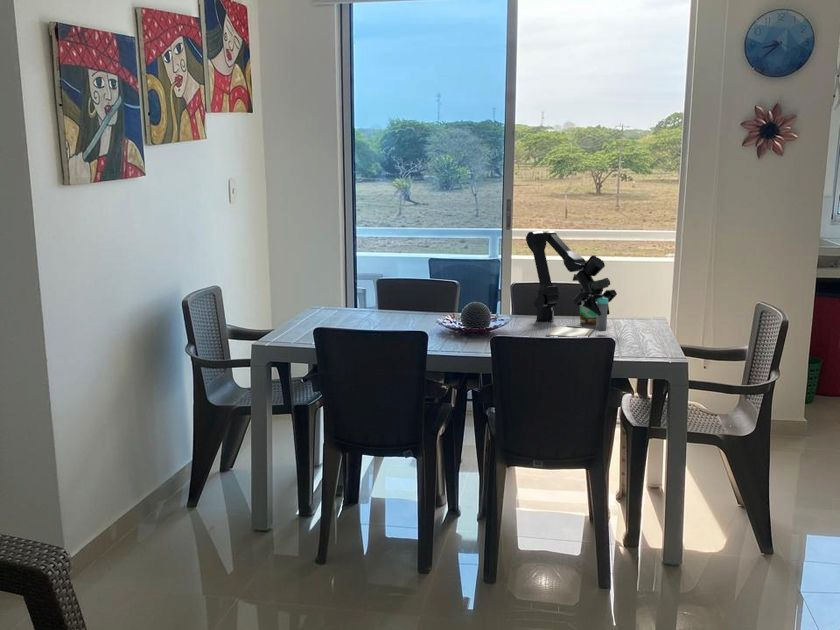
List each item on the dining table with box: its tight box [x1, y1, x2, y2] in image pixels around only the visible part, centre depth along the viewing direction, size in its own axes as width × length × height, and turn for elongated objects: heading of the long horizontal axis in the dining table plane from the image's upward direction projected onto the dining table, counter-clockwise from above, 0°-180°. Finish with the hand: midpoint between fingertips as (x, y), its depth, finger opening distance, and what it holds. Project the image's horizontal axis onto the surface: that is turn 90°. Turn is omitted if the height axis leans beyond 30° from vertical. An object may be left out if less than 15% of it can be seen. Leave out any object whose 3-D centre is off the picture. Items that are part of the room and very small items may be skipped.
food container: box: [579, 301, 597, 326], centre depth 346 cm, size 12×6×10 cm, turn 101°
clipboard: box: [545, 324, 595, 337], centre depth 329 cm, size 16×19×1 cm
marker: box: [595, 297, 609, 332], centre depth 325 cm, size 4×4×13 cm
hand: (604, 314), depth 324 cm, fingers closed on marker, 4 cm apart
